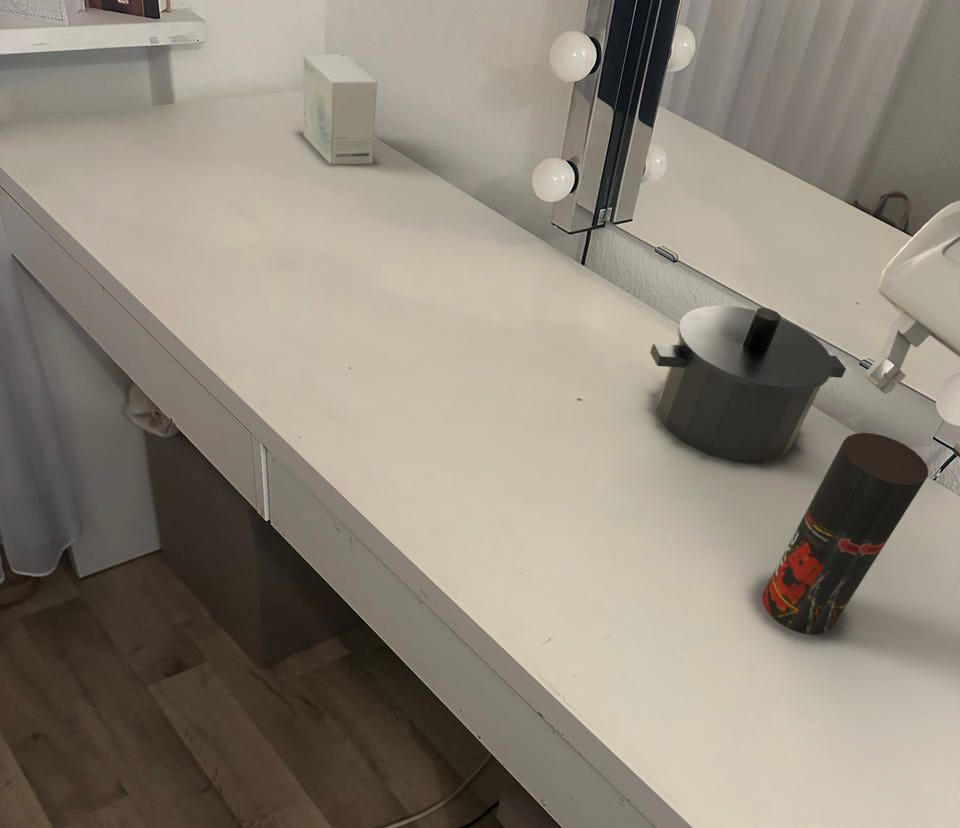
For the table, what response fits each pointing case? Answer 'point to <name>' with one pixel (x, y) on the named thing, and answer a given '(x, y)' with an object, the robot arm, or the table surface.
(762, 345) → the pot lid
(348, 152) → the cosmetics box
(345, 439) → the table surface
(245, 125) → the table surface
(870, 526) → the deodorant
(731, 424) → the pot
